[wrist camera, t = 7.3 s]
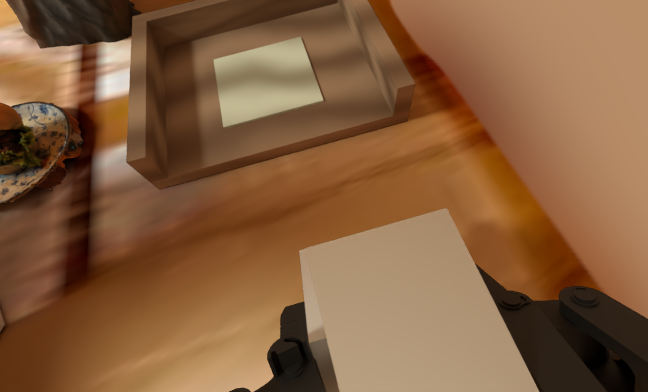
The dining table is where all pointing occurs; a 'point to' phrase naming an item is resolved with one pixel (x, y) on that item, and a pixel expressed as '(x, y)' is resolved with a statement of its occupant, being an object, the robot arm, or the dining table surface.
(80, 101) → the dining table surface
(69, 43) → the owl
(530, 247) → the dining table surface
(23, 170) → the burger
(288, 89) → the shallow rimmed tray
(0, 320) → the flask
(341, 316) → the block
